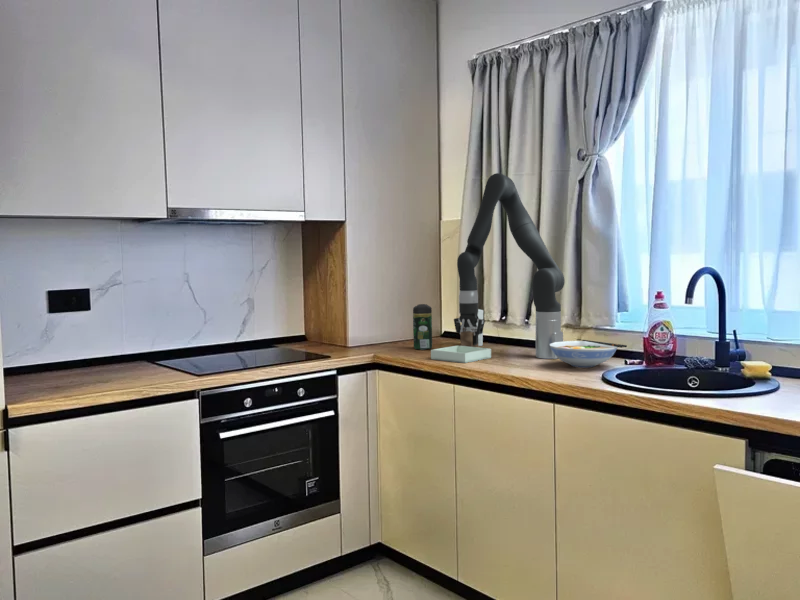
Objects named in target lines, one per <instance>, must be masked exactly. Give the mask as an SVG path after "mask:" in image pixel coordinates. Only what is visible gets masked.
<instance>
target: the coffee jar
mask: <svg viewBox="0 0 800 600" xmlns="http://www.w3.org/2000/svg"><path fill="white" fill-rule="evenodd" d="M432 313H433V312H432V307H431V306H430V305H428V304H425V303H420V304H417V305H415V306H414V307H412V327H413V328H412V329H413V330H412V331H413V333H412V335H413V336H412V337H413V348H414V349H415V350H421V351H425V350H432V348H433V316H432V315H433V314H432Z"/></svg>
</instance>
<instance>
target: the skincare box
mask: <svg viewBox="0 0 800 600" xmlns="http://www.w3.org/2000/svg"><path fill="white" fill-rule="evenodd" d="M478 318H479V319H484V309H480V308H478ZM460 323H461V322H460ZM461 324H462V323H461ZM477 327H478V323H477ZM466 331H471V329H470V328H469V327H468V329H467V330H466ZM483 336H484V332H483V333H482V334H479V335H478V347H483V345H484V344H483V341H484V337H483Z"/></svg>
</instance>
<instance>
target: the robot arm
mask: <svg viewBox="0 0 800 600" xmlns="http://www.w3.org/2000/svg"><path fill="white" fill-rule="evenodd" d="M498 203H500V204H501V206H502V208H503V209H504V212H505V214H506V216H507V222H508V227H509V230H510V233H511V236H512V237H513V239H514V241H515V243H516V244H517V247H519V249H520V250H521V251H522V252H523V253H524V254H525V255H526V256H527V257H528V258H529V259H530V260H531V261H532V262H533V265H535V267H536V269H537V271H535V273H534V275H533V277H532V298H533V299H532V300H533V301H532V302H533V305H534V306H535V358H537V359H551V360H553V359H555V360H556V359H558V358H557V356H556V355H555V354H554V353H553V351H552V349H551V347H550V344H551V343H554V342H563V341H564V332H563V331H562V305H561V304H560V302H558V300H557V297H556V293H558V292H560V291H561V290H563V288H564V287H565V283H566V281H565V275H564V273H563V272H562V270H561V268H560V267H559V265H558V264H557V263H556V261H555V260H554V258H553V257H552V255H551V254H550V251H549V250H548V248H547V246H546V243H545V242H544V240H543V238H542V237H541V234H540V232H539V230H538V228H537V227H536V224H535V223H534V220H533V219H532V217H531V216H530V214H529V212H528V211H527V209H526V207H525V206H524V204H523V202H522V200H521V197H520V194H519V193H518V190H517V186H516V185H515V182H514V180H513V179H512V178H510V177H509V176H507V175H505V174H503V173H500V172H496V173H494V174H491V175H490V176H489V177H488V179H487V181H486V183H485V186H484V190H483V195H482V199H481V202H480V206H479V209H478V212H477V216H476V218H475V221H474V223H473V225H472V228H471V229H470V232H469V235H468V237H467V240H466V241H467V245H466V247H465V250H464V251H463V252H461V253H460V254H459V255H458V256H457V260H456V261H457V263H456V265H457V273H458V278H459V285H458V286H459V295H458V303H459V304H458V305H459V307H458V308H459V310H458V311H459V312H458V313H459V317H458V318H457V317H456V318H454V319H453V322H454V323H453V324H454V328H455V332H456V333H457V334H459V335H460V336H461V334H460V332H464V331H466V330H467V329H468V327H469V328H470V329H471V331H472V332H473V335H474V336H473V345H477V343H478V335H479V334H482V333H483V334H484V326H485V322H486V321H485V319H484V318H483V319H479V318H478V309H479V293H478V279H477V276H476V272H475V268H476V267H477V265H478V264H479V261H480V259H481V255H482V252H483V248H484V246H485V245H486V242H487V240H488V238H489V235H490V233H491V230H492V226H493V225H492V223H493V217H494V213H495V209H496V206H497V205H498ZM461 323H462V324H461ZM477 323H478V327H477Z"/></svg>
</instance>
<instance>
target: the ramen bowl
mask: <svg viewBox="0 0 800 600" xmlns="http://www.w3.org/2000/svg"><path fill="white" fill-rule="evenodd" d="M550 347H551V349H552V351H553V353H554V354H555V355H556V356H557V359H559V360H560V361H562V362H564V363H566V364H569V365H571V366H572V367H574V368H585V369H587V368H589V369H590V368H594V367H596V366H598V365H600V364H603V363H606V362H607V361H609V360H610V359H611V358H612V357H613V356H614V355H615V354H616V351H617V349H618V348H627V347H628V346H627V345H626V344H621V343H620V344H619V343H613V342H612V343H611V342H604V341H595V340H588V339H579V338H576V339H575V340H567V341H565V340H563V342H554V343H551V344H550Z"/></svg>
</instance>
